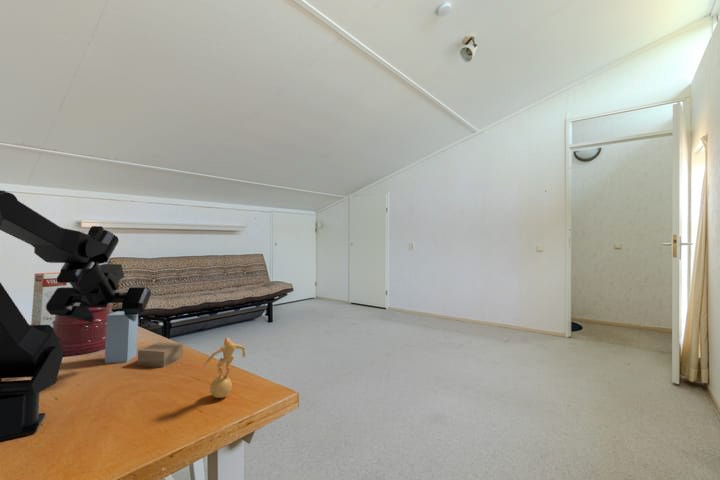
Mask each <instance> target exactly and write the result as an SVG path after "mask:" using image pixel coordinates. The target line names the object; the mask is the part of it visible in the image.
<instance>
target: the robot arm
mask: <svg viewBox="0 0 720 480" xmlns="http://www.w3.org/2000/svg"><path fill="white" fill-rule="evenodd" d="M0 231H1V232H4V233H5V234H8V235H10V236H12V237H13V238H16V239H18V240H20V241H22V242H24V243H26V244H28V245H31V247H33V248H34V249H33V252H34V254H35V255H36V256H37V257H38V258H40V259H41V260H43V261H44V262H45V263H50V264H51V263H52V264H53V263H54V264H63V265H62V267H61V268H60V274H59V275H58V277H57V283H70V284H71V285H72V287H61V288H57V289H56V290H55V292H54V293H53V295H52V296H51V298H50V299H49V301H48V302H47V304H46V310H47V311H48V312H49V313H50V314H51V315H58V316H65V317H69V318H74V319H79V320H83V321H87V322H93V320H94V317H93V315H92V313H91V311H90V310H89V308H96V307H107V305H108V303H111V304H121V311H124V315H125V316H127V317H128V318H129V319H130V320H132V321H135V320H136V317H137V314H138V315H139V314H142V313H143V312H145V310H146V308H147V306H148V303H149V300H150V299H151V298H150V297H151V295H152V292H151V290H150V288H149V287H148V286H130V287H128V290H127V292H115V291H118V289H119V287H120V284H119V282H120V281H121V280H122V279H123V278H124V277H125V274H124V268H123V265H122V264H119V263H118V264H117V263H116V264H115V263H113V264H112V263H107V262H108V261H109V259H110V258H111V256H112V255H113V253H114V250H115V249H116V247H117V246H118V243H119V241H120V240H119V237H118V236H117V235H115V234H114V233H113V232H111V231H109V230H107V229H104V227H103V226H97V225H96V226H95V225H92V226H91V227H90V229H89V230H88V233H85V232H82V231H80V230H75V229H71V228H70V229H69V228H65V227H62V226H60V225H58V224H56V223H55V222H53V221H51V220H49V218H47V217H46V216H43V215H42V214H40V213H38V212H37V211H35V210H34V209H32V208H30V207H29V206H27V204H25V203H23V202H21V201H19V200H18V198H17V197H16V195H15V194H14V193H12V192H9V191H6V190H0ZM60 340H61V338H59V337H57V336H56V334H55V332H54V329H53V328H52V327H51V326H50V325H31V324H29V323H28V320H27V319H26V318H25V316H24V315H23V314H22V312H21V311H20V309H19V308H18V307H17V305H16V304H15V301H14V300H13V299H12V298H11V296H10V294H9V293H8V292H7V290H6V289H5V287H4V286H3V284H2V282H0V440H1V441H5V440H10V439H14V438H18V437H23V436H24V437H25V436H28V435H33V434H35V433H36V432H38V430H39V428H40V426H41V425H42V423H43V421H44V419H45V417H46V412H41V413H39V412H40V397H41V396H40V394H41V392H42V391H44V390H46V389H48V388H49V387H51V386H53V385H55V384H56V383H57V380H58V377H59V372H60V369H61V364H62V362H63V357H64V355H63V350H62V348H61V345H60V343H59V341H60ZM16 378H19V379H20V378H30V379H22V380H18V379H17V380H6V381H4V379H16ZM2 380H3V381H2Z"/></svg>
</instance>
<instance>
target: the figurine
mask: <svg viewBox="0 0 720 480" xmlns="http://www.w3.org/2000/svg"><path fill="white" fill-rule="evenodd" d="M236 349H240V350H241V353H242V354H241V356H242V357H246V351H245V346H243V345H241V344H237V343H234V342H233V341H232V340H231V339H230V338H229V337H226V338H225V339H224V341H223V345H222V346H221V347H220V348H219V349H217V350H215V351H214V352H213V353H212V354H211V355H210V356H209V358H208V359H207V360H206V361H205V363H204V365H203V369H204V368H205V366H206V365H207V364H208V363H210V362H211V360H212V359H213V358H214V357H215V356H216V355H219V354H220V353H221V352H222V355H223V357H220V358H219V361H218V362H217V364H216V368H217V370H218V371H217V372H218V373H219V374H218V376H217V377H215V378H214V379H213V380H212V382H211V384H210V386H209V391H210V392H209V393H210V394H211V396H213V397H214V398H217V399H222V398H225V397H226V396H229V395H228V394H230V392H231V390H232V388H233V384H232V383H233V382H232V381H231V379H230V378H229V377H228V376H229V374H230V370H231V367H230V366H229V365H231V364H232V362H233V361H234V355H233V354H234V352H235V351H236ZM224 364H225V366H226V373H225V374H224V375H223V370H222V368H221V367H223V366H224Z"/></svg>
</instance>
